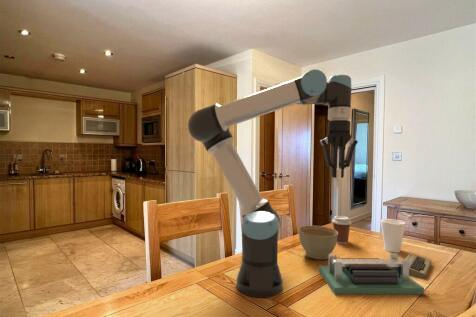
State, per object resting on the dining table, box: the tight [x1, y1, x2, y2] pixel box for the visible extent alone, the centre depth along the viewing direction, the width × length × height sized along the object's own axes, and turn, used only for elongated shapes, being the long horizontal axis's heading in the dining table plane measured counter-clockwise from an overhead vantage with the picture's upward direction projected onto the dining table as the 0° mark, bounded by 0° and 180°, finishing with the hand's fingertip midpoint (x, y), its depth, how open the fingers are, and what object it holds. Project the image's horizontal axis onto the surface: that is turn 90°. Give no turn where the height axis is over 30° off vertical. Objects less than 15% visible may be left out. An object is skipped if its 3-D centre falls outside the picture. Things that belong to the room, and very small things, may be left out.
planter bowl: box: [298, 225, 338, 260], centre depth 115 cm, size 16×16×11 cm
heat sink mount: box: [327, 252, 410, 285], centre depth 92 cm, size 24×12×8 cm, turn 90°
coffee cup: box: [331, 215, 352, 245], centre depth 133 cm, size 9×9×12 cm
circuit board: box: [318, 265, 425, 295], centre depth 92 cm, size 28×16×2 cm, turn 90°
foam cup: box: [380, 218, 406, 254], centre depth 122 cm, size 10×9×13 cm
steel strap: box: [331, 258, 401, 267], centre depth 92 cm, size 23×4×2 cm, turn 90°
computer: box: [404, 253, 432, 279], centre depth 103 cm, size 16×8×3 cm, turn 138°
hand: (337, 186), depth 96 cm, fingers closed
